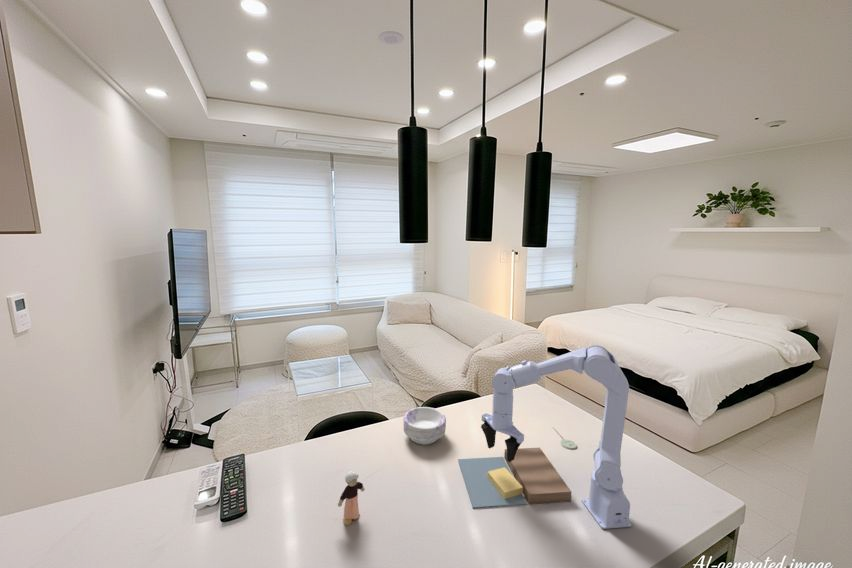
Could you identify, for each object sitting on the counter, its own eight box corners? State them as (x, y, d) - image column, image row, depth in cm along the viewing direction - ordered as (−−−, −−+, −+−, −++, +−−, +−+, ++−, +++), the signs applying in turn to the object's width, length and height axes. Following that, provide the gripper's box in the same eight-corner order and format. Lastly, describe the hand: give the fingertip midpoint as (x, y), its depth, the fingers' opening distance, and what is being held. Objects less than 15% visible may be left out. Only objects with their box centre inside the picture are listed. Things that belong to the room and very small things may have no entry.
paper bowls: (448, 449, 117) (448, 427, 116) (403, 450, 116) (403, 428, 114) (442, 425, 132) (443, 405, 131) (403, 426, 131) (403, 406, 130)
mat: (526, 504, 93) (527, 503, 93) (472, 508, 91) (472, 507, 91) (502, 457, 112) (502, 456, 112) (457, 460, 111) (458, 459, 111)
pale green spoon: (557, 424, 133) (579, 447, 118) (557, 426, 133) (579, 449, 118) (545, 425, 132) (565, 448, 117) (545, 427, 132) (565, 450, 117)
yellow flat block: (522, 493, 96) (522, 487, 96) (504, 499, 94) (504, 492, 94) (504, 473, 104) (504, 467, 104) (487, 477, 102) (487, 471, 102)
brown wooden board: (570, 501, 94) (571, 491, 94) (528, 504, 93) (529, 494, 92) (539, 455, 114) (539, 447, 113) (504, 457, 112) (504, 449, 112)
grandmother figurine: (347, 531, 83) (346, 483, 82) (336, 524, 85) (335, 477, 84) (368, 510, 90) (368, 466, 88) (357, 504, 92) (357, 460, 90)
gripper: (532, 416, 96) (529, 461, 97) (493, 397, 107) (491, 437, 109) (515, 424, 92) (513, 470, 93) (477, 403, 103) (475, 444, 105)
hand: (500, 453), depth 101 cm, fingers open, 7 cm apart
